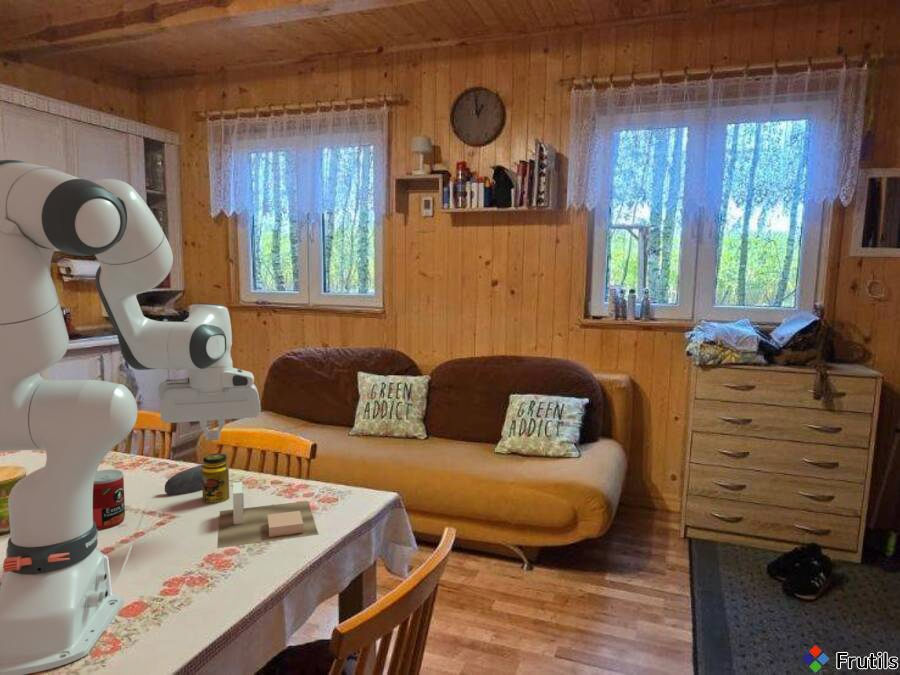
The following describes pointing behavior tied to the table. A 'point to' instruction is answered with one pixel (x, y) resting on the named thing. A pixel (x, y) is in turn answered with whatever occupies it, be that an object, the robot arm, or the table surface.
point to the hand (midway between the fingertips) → (212, 439)
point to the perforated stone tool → (185, 481)
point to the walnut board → (261, 524)
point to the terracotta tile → (285, 523)
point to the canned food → (108, 498)
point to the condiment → (215, 478)
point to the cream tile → (238, 503)
